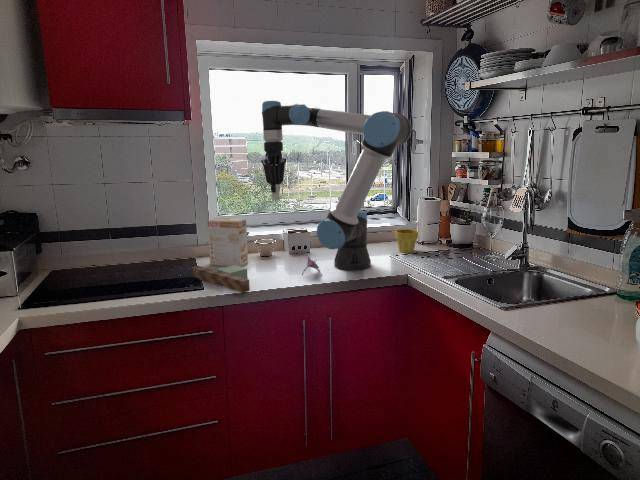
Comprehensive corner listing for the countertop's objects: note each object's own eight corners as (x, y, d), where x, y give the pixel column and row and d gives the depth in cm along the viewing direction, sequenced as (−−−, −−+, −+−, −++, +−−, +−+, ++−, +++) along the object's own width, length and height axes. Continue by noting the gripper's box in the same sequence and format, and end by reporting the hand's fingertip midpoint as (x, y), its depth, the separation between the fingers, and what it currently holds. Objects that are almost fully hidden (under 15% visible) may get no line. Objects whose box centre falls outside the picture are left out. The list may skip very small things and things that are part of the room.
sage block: (247, 280, 169) (247, 268, 168) (230, 284, 164) (229, 273, 163) (234, 276, 175) (234, 264, 174) (217, 280, 169) (216, 269, 168)
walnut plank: (249, 290, 156) (249, 279, 155) (242, 292, 154) (242, 281, 153) (198, 275, 175) (197, 265, 174) (191, 277, 173) (190, 267, 172)
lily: (316, 283, 167) (327, 260, 167) (288, 269, 169) (299, 246, 169) (320, 283, 179) (331, 261, 179) (294, 270, 181) (305, 249, 181)
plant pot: (400, 254, 204) (401, 233, 202) (391, 249, 214) (391, 229, 212) (421, 253, 207) (422, 232, 205) (411, 248, 217) (412, 228, 215)
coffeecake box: (248, 263, 192) (246, 218, 188) (240, 267, 185) (237, 221, 181) (219, 261, 197) (216, 217, 193) (209, 264, 191) (206, 219, 187)
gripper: (276, 141, 187) (279, 198, 192) (254, 141, 177) (258, 201, 181) (290, 141, 183) (293, 199, 187) (269, 141, 172) (272, 202, 177)
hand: (275, 200), depth 184 cm, fingers closed
